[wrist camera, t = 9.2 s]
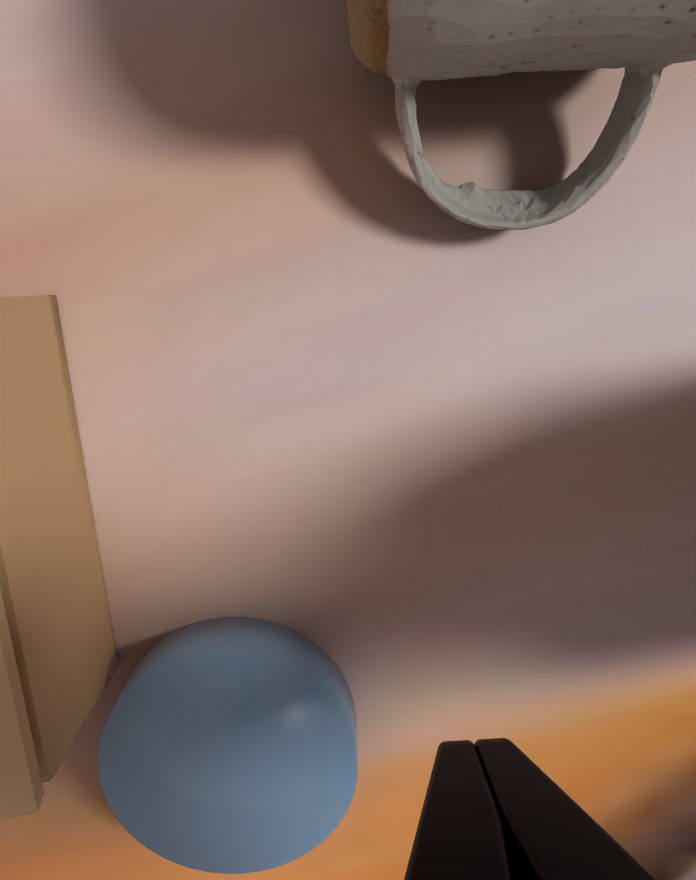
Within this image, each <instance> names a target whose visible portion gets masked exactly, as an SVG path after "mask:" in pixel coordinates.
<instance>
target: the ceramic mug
mask: <svg viewBox="0 0 696 880" xmlns="http://www.w3.org/2000/svg"><path fill="white" fill-rule="evenodd" d="M346 5H347V14H348V25H349V37H350V44H351V48H352V50H353V52H354V54H355V55H356V57H357V59H358V60H359V61H360V62H361V63H362V64H364V65H365V66H366V67H367V68H368V69H369V70H371V71H372V72H373V73H377V74H381V75H384V76H388V77H390V78H391V79H392V81H393V83H394V84H395V110H396V117H397V122H398V127H399V131H400V136H401V139H402V143H403V146H404V150H405V153H406V156H407V160H408V162H409V165H410V167H411V170H412V172H413V174H414V176H415V178H416V180H417V182H418V184H419V185H420V186H421V188H422V189H423V191H424V192H425V193H426V195H427V196H428V197H429V198H430V199H431V200H432V201H433V202H434V203H435V204H436V205H437V206H438V207H439V208H440V209H441V210H443V211H444V212H446V213H447V214H449V215H451V216H452V217H454V218H456V219H457V220H459V221H461V222H463V223H465V224H470V225H475V226H477V227H479V228H485V229H496V230H524V229H529V228H533V227H538V226H542V225H546V224H550V223H553V222H556V221H558V220H560V219H562V218H564V217H566V216H567V215H569V214H571V213H573V212H574V211H576V210H577V209H578V208H579V207H581V206H582V205H583V204H585V203H586V202H587V201H588V200H589V199H590V198H591V197H592V196H593V195H594V194H595V193H596V192H597V191H599V190H600V189H601V188H602V187H603V186H604V185H605V184H606V183H607V182H608V180H609V179H610V177H611V176H612V175H613V173H614V172H615V170H616V169H617V168H618V167H619V166H620V164H621V163H622V161H623V160H624V158H625V156H626V155H627V153H628V151H629V150H630V148H631V146H632V145H633V143H634V141H635V139H636V138H637V136H638V134H639V131H640V129H641V127H642V124H643V122H644V120H645V117H646V115H647V113H648V111H649V108H650V106H651V104H652V101H653V97H654V93H655V91H656V89H657V86H658V84H659V82H660V77H661V72H662V70H663V68H665V67H667V66H669V65H671V64H673V63H680V62H688V61H694V60H696V0H346ZM621 67H625V75H624V78H623V80H622V84H621V87H620V91H619V94H618V97H617V100H616V102H615V105H614V107H613V110H612V112H611V115H610V117H609V119H608V121H607V123H606V125H605V127H604V129H603V131H602V133H601V135H600V136H599V138H598V140H597V142H596V144H595V146H594V148H593V149H592V151H591V152H590V153H589V154H588V156H587V157H586V158H585V160H584V161H583V162H582V163H581V164H580V165H579V167H578V169H576V170H575V171H574V172H573V173H572V174H570V175H569V176H568V177H567V178H566V179H565V180H563V181H561V182H560V183H558V184H556V185H551V186H548V187H546V188H545V189H543V190H537V191H534V190H509V191H499V190H490V189H482V188H480V187H479V186H478V185H476V184H475V183H473V182H469V183H464V184H462V185H461V186H459V187H455V186H452V185H447V184H445V183H444V182H443V181H442V180H441V179H440V178H439V177H438V175H437V174H436V173H435V171H434V170H433V168H432V167H431V166H430V164H429V163H428V162H427V161H426V159H425V158H424V155H423V150H422V144H421V139H420V134H419V129H418V124H417V119H416V102H415V94H416V90H417V86H418V84H419V83H420V82H421V81H431V80H446V79H456V78H468V77H478V76H498V75H500V74H504V73H510V72H534V71H570V70H593V69H599V68H621Z"/></svg>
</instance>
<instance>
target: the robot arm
mask: <svg viewBox="0 0 696 880" xmlns="http://www.w3.org/2000/svg"><path fill="white" fill-rule="evenodd" d="M404 880H656V879H655V878H654V877H653V876H652V875H651V874H650V873H649V872H648V871H647V870H646V869H645V868H644V867H643V866H642V865H641V864H640V863H639V862H638V861H636V860H635V859H634V858H633V857H632V856H631V855H630V854H629V853H628V852H627V851H626V850H625V849H624V848H623V847H622V846H621V845H620V844H619V843H618V842H616V841H615V840H614V839H613V838H612V837H611V836H610V835H609V834H608V833H607V832H606V831H605V830H604V829H603V828H602V827H601V826H600V825H599V824H598V823H597V822H595V821H594V820H593V819H592V818H591V817H590V816H589V815H588V814H587V813H586V812H585V811H584V810H583V809H582V808H581V807H580V806H579V805H578V804H577V803H575V802H574V801H573V800H572V799H571V798H570V797H569V796H568V795H567V794H566V793H565V792H564V791H563V790H562V789H561V788H560V787H559V786H558V785H557V784H555V783H554V782H553V781H552V780H551V779H550V778H549V777H548V776H547V775H546V774H545V773H544V772H543V771H542V770H541V769H540V768H539V767H538V766H537V765H535V764H534V763H533V762H532V761H531V760H530V759H529V758H528V757H527V756H526V755H525V754H524V753H523V752H522V751H521V750H520V749H519V748H518V747H517V746H516V745H514V744H513V743H512V742H511V741H510V740H508V739H506V738H495V739H480V740H477V741H476V742H475V744H473V743H472V742H471V741H469V740H462V741H445V742H442V743H441V744H440V745H439V747H438V750H437V754H436V758H435V762H434V766H433V770H432V774H431V778H430V781H429V785H428V789H427V793H426V797H425V801H424V805H423V809H422V812H421V816H420V820H419V824H418V828H417V832H416V836H415V840H414V844H413V847H412V851H411V855H410V859H409V863H408V867H407V871H406V875H405V878H404Z"/></svg>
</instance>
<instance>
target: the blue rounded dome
mask: <svg viewBox="0 0 696 880" xmlns="http://www.w3.org/2000/svg"><path fill="white" fill-rule="evenodd" d="M97 766H98V775H99V780H100V784H101V788H102V791H103V794H104V796H105V798H106V801H107V803H108V805H109V807H110V809H111V810H112V812H113V813H114V815H115V817H116V818H117V819H118V821H119V822H120V823H121V824H122V826H123V827H124V828H125V829H126V830H127V831H128V832H129V833H130V834H131V835H132V836H133V837H134V838H135V839H136V840H137V841H139V842H140V843H141V844H143V845H144V846H145V847H147V848H148V849H149V850H151V851H153V852H155V853H156V854H158V855H160V856H161V857H163V858H165V859H168V860H170V861H172V862H175V863H177V864H180V865H183V866H186V867H189V868H192V869H197V870H202V871H207V872H214V873H225V874H234V873H250V872H258V871H262V870H267V869H271V868H275V867H277V866H280V865H283V864H286V863H289V862H291V861H293V860H295V859H297V858H299V857H301V856H303V855H304V854H306V853H307V852H309V851H311V850H312V849H314V848H315V847H316V846H318V845H319V844H320V843H321V842H322V841H324V840H325V839H326V838H327V837H328V836H329V835H330V834H331V832H332V831H333V830H334V829H335V828H336V827H337V825H338V824H339V822H340V821H341V820H342V818H343V817H344V815H345V813H346V811H347V809H348V807H349V805H350V803H351V800H352V797H353V793H354V790H355V785H356V779H357V745H356V715H355V708H354V702H353V698H352V695H351V692H350V689H349V686H348V684H347V682H346V680H345V678H344V676H343V674H342V673H341V671H340V670H339V668H338V667H337V665H336V664H335V663H334V662H333V661H332V659H331V658H330V657H329V656H328V655H327V654H326V653H325V652H324V651H323V650H322V649H321V648H320V647H318V646H317V645H316V644H315V643H314V642H312V641H311V640H309V639H308V638H306V637H305V636H303V635H301V634H299V633H297V632H295V631H293V630H292V629H290V628H287V627H285V626H282V625H279V624H276V623H273V622H269V621H265V620H261V619H255V618H246V617H222V618H214V619H208V620H204V621H200V622H196V623H193V624H190V625H188V626H185V627H183V628H180V629H178V630H176V631H175V632H173V633H171V634H169V635H167V636H166V637H164V638H163V639H162V640H160V641H159V642H157V643H156V644H155V645H154V646H153V647H152V648H151V649H150V650H149V651H148V652H147V653H145V654H144V656H143V657H142V658H141V660H140V661H139V662H138V664H137V665H136V666H135V668H134V670H133V672H132V673H131V675H130V677H129V679H128V681H127V683H126V684H125V686H124V688H123V690H122V692H121V694H120V696H119V697H118V699H117V701H116V703H115V705H114V707H113V709H112V710H111V712H110V714H109V716H108V718H107V720H106V722H105V725H104V727H103V730H102V733H101V736H100V741H99V746H98V756H97Z"/></svg>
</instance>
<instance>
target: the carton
mask: <svg viewBox="0 0 696 880" xmlns="http://www.w3.org/2000/svg"><path fill="white" fill-rule="evenodd" d="M0 588H1V593H2V598H3V602H4V607H5V612H6V617H7V621H8V626H9V631H10V635H11V640H12V645H13V650H14V654H15V659H16V664H17V668H18V673H19V678H20V683H21V687H22V692H23V697H24V701H25V706H26V711H27V716H28V720H29V725H30V730H31V734H32V739H33V744H34V749H35V753H36V758H37V763H38V767H39V772H40V777H41V782H50V781H51V779H52V777H53V776H54V774H55V772H56V770H57V769H58V767H59V765H60V764H61V762H62V760H63V758H64V757H65V755H66V753H67V752H68V750H69V748H70V746H71V745H72V743H73V741H74V740H75V738H76V736H77V734H78V733H79V731H80V729H81V728H82V726H83V724H84V723H85V721H86V719H87V717H88V716H89V714H90V712H91V711H92V709H93V707H94V705H95V704H96V702H97V700H98V699H99V697H100V695H101V693H102V692H103V690H104V688H105V687H106V685H107V683H108V681H109V680H110V678H111V676H112V675H113V673H114V671H115V669H116V668H117V666H118V663H117V657H116V651H115V645H114V639H113V633H112V627H111V621H110V615H109V610H108V604H107V598H106V592H105V586H104V580H103V574H102V568H101V562H100V556H99V550H98V544H97V538H96V532H95V526H94V520H93V514H92V508H91V502H90V496H89V490H88V484H87V478H86V472H85V466H84V460H83V454H82V448H81V442H80V436H79V430H78V425H77V419H76V413H75V407H74V401H73V395H72V389H71V383H70V377H69V371H68V365H67V359H66V353H65V347H64V341H63V335H62V329H61V323H60V317H59V311H58V305H57V299H56V295H49V296H25V297H2V298H0Z"/></svg>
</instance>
